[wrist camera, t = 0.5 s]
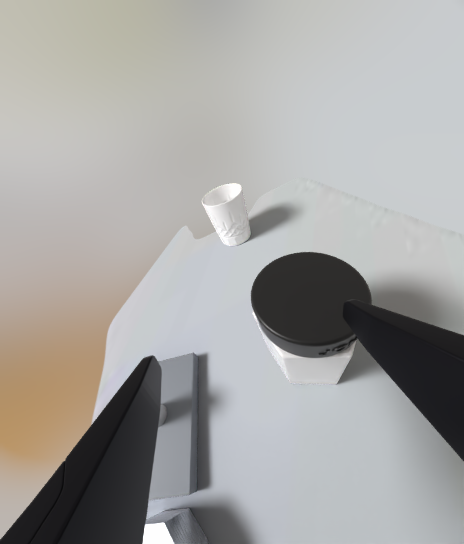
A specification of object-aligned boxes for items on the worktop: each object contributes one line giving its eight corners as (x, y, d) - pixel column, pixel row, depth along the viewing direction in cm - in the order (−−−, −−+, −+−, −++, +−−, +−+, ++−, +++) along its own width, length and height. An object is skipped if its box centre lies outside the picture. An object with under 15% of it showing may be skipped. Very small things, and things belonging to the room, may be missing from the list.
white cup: (255, 223, 42) (244, 179, 35) (252, 246, 37) (238, 200, 30) (223, 228, 44) (207, 188, 37) (216, 250, 39) (196, 209, 32)
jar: (332, 409, 18) (354, 383, 9) (258, 364, 22) (228, 318, 14) (354, 329, 21) (385, 258, 13) (288, 305, 26) (278, 241, 18)
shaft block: (196, 491, 17) (154, 511, 12) (121, 501, 18) (56, 524, 13) (198, 356, 25) (173, 338, 20) (146, 369, 26) (112, 354, 21)
